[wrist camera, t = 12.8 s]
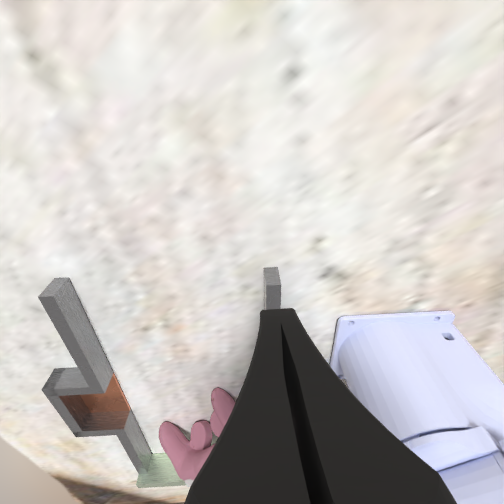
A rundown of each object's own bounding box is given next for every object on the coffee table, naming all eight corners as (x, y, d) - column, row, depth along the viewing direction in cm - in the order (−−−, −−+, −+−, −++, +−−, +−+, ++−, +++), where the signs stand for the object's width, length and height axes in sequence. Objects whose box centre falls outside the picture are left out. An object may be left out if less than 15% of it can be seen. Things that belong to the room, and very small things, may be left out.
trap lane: (332, 264, 21) (345, 291, 18) (306, 448, 36) (311, 477, 33) (-2, 281, 20) (-37, 310, 18) (113, 460, 35) (103, 490, 33)
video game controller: (186, 419, 34) (200, 491, 30) (153, 425, 31) (164, 507, 27) (245, 382, 31) (270, 458, 27) (214, 384, 27) (238, 472, 23)
